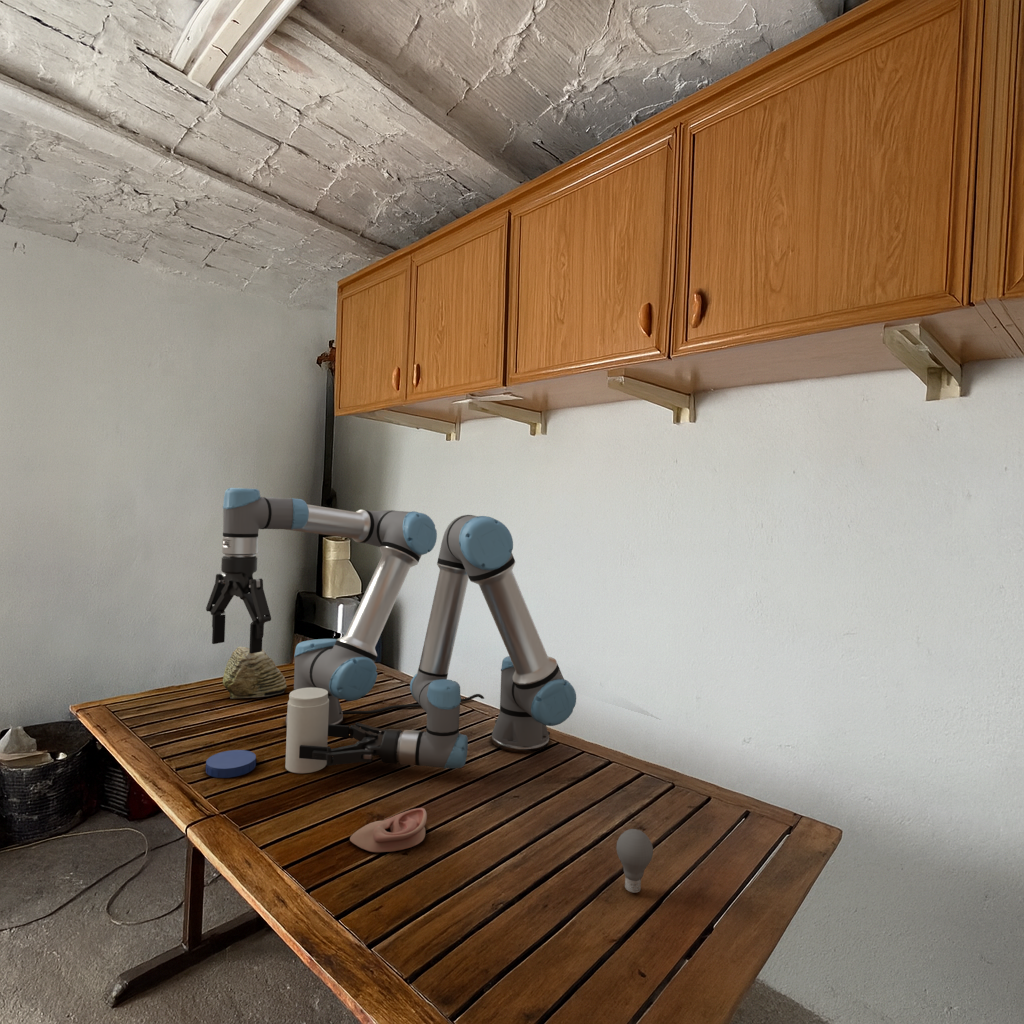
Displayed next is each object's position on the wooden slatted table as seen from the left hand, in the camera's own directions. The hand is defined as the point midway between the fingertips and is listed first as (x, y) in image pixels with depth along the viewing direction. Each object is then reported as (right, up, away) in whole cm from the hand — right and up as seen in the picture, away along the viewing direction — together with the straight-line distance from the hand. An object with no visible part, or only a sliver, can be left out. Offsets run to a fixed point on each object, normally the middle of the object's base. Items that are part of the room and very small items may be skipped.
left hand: (236, 647), depth 145 cm
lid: (-1, -26, 0) cm, 26 cm away
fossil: (-17, -26, +53) cm, 61 cm away
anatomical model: (+40, -30, -26) cm, 57 cm away
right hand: (+16, -23, +3) cm, 28 cm away
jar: (+15, -28, +4) cm, 32 cm away
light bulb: (+83, -32, -40) cm, 98 cm away
